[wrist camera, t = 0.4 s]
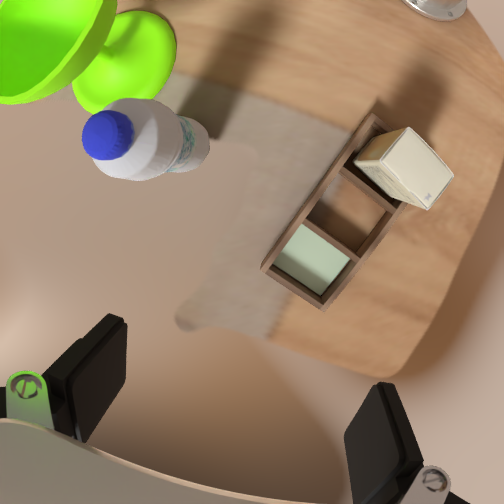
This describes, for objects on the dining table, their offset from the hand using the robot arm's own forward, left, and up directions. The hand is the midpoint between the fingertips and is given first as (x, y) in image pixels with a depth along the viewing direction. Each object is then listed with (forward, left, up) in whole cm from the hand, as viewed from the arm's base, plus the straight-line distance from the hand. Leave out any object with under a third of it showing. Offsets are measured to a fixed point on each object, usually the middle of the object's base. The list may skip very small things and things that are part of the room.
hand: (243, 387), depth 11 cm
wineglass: (-8, -29, -29) cm, 41 cm away
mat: (+1, +6, -28) cm, 29 cm away
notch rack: (-7, +6, -28) cm, 30 cm away
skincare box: (-14, +6, -29) cm, 32 cm away
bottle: (-3, -14, -29) cm, 32 cm away
